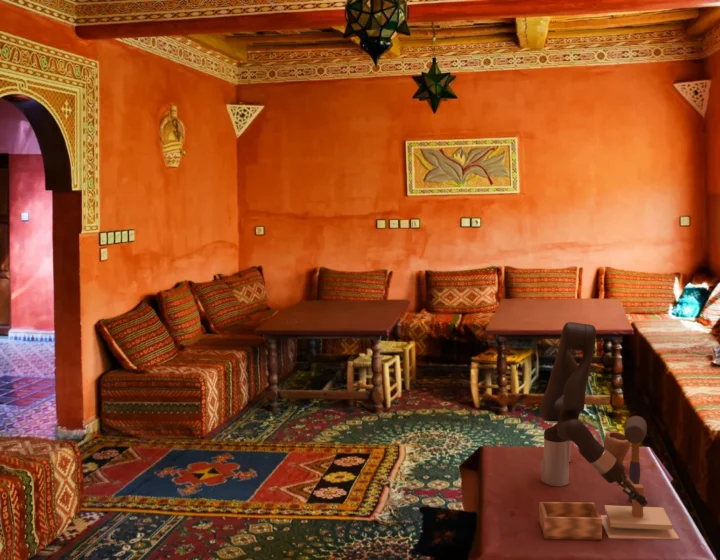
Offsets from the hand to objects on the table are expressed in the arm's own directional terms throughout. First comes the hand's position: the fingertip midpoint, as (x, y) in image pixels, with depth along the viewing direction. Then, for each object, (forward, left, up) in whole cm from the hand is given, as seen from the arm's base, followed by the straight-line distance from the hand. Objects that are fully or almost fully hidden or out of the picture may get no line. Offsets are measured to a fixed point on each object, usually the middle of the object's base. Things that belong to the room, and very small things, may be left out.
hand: (644, 502), depth 270 cm
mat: (-2, -1, -9) cm, 9 cm away
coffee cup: (-49, +42, -9) cm, 65 cm away
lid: (-2, -1, -6) cm, 6 cm away
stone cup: (-29, +45, -9) cm, 54 cm away
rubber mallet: (-11, +20, -9) cm, 24 cm away
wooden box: (-19, -16, -9) cm, 26 cm away
